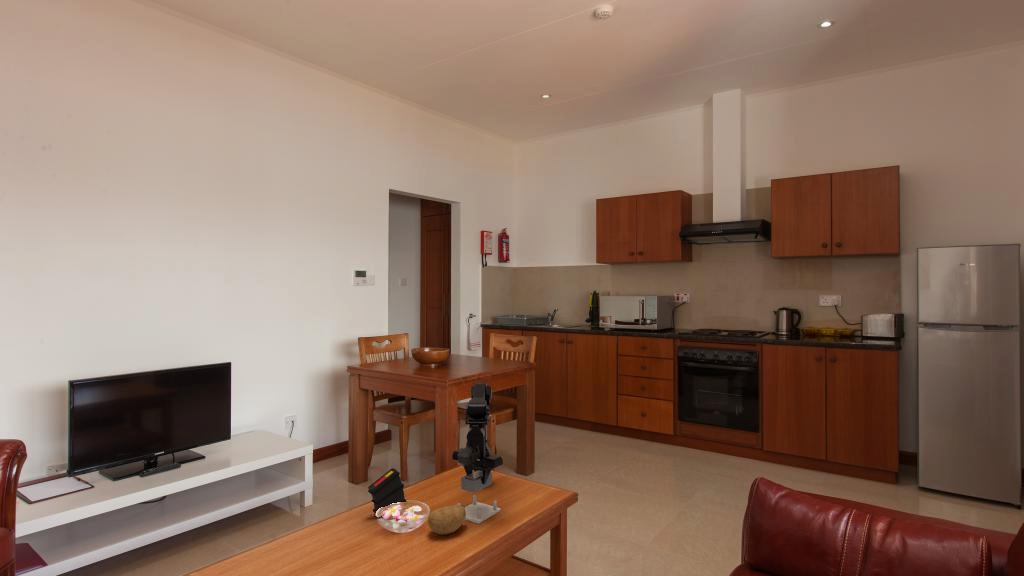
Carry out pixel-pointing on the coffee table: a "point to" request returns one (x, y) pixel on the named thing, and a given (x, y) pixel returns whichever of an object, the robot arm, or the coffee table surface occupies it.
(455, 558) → the coffee table surface
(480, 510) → the white mounting plate
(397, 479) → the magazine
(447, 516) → the potato
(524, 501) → the coffee table surface
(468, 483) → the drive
